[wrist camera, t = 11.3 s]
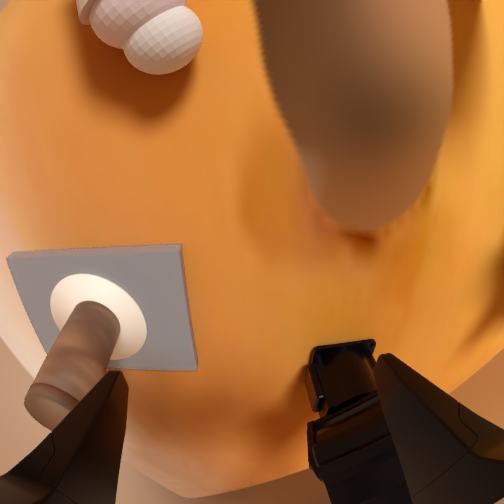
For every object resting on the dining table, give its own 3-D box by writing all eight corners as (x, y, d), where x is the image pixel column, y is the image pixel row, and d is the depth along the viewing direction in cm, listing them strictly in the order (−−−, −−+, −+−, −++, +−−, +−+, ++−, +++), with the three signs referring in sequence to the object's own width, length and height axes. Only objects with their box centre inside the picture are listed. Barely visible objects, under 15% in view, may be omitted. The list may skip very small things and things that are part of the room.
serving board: (181, 243, 21) (178, 253, 20) (198, 361, 26) (197, 373, 25) (12, 252, 20) (4, 260, 18) (54, 353, 25) (49, 362, 24)
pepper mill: (127, 316, 22) (91, 421, 13) (113, 349, 23) (83, 445, 14) (78, 290, 20) (22, 386, 11) (69, 327, 22) (25, 416, 13)
